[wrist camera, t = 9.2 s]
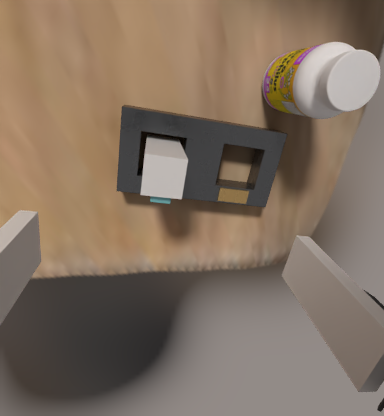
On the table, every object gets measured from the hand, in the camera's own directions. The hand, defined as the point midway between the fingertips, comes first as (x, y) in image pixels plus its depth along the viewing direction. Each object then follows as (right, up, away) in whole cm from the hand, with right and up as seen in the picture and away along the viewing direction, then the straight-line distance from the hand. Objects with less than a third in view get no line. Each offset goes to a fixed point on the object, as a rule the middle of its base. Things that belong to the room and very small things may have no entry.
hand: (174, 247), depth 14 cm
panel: (+2, +9, +22) cm, 24 cm away
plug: (-3, +9, +21) cm, 24 cm away
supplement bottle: (+13, +18, +20) cm, 30 cm away
